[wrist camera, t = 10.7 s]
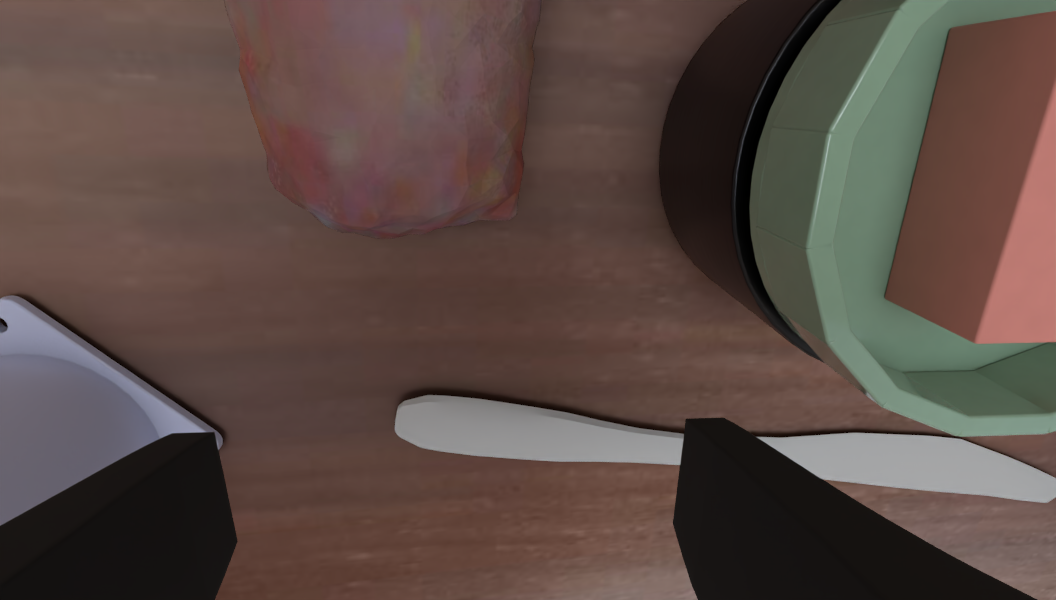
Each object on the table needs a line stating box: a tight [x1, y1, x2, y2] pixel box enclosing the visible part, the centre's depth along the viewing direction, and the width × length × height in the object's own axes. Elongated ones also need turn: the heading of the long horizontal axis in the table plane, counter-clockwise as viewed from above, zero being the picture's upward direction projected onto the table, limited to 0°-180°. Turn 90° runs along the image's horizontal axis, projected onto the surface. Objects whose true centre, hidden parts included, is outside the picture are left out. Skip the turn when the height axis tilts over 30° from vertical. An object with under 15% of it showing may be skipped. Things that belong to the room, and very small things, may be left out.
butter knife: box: [395, 395, 1056, 503], centre depth 21 cm, size 1×27×3 cm
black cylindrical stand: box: [659, 0, 841, 362], centre depth 15 cm, size 10×10×6 cm
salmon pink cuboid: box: [885, 11, 1056, 344], centre depth 10 cm, size 6×4×2 cm, turn 179°
